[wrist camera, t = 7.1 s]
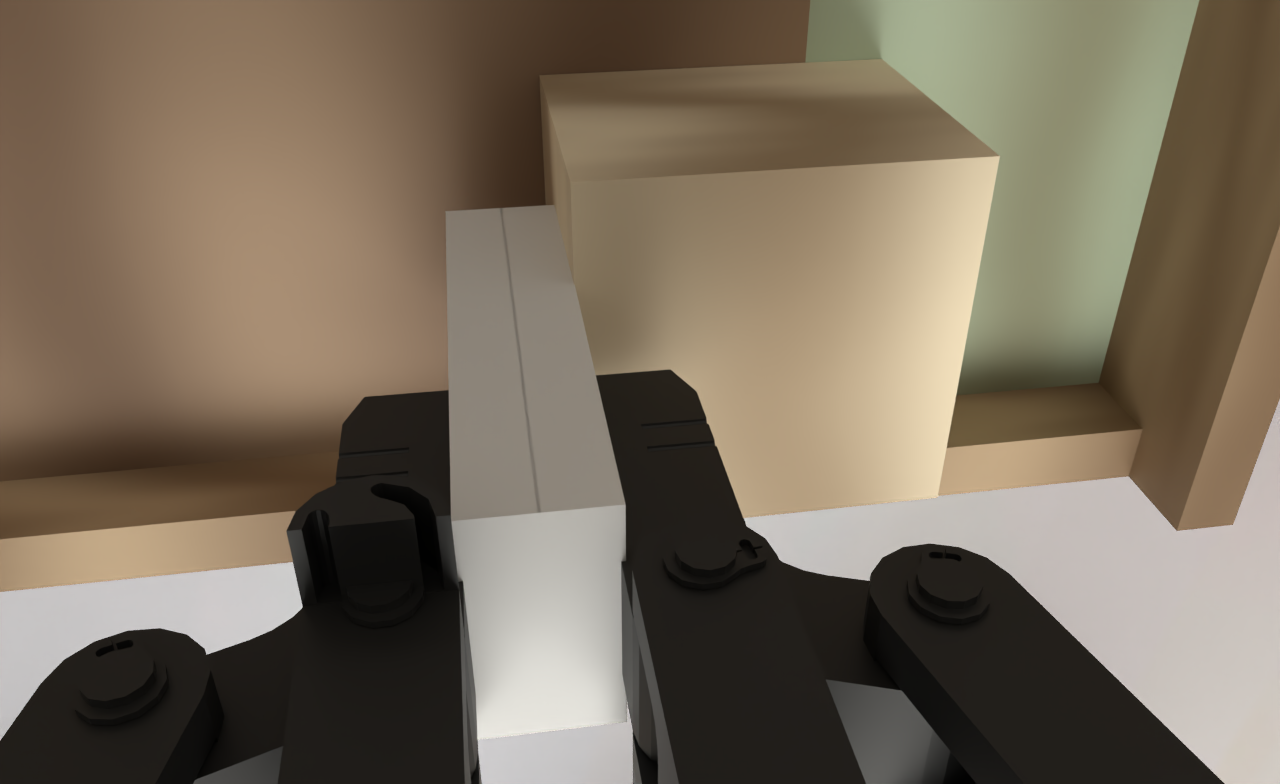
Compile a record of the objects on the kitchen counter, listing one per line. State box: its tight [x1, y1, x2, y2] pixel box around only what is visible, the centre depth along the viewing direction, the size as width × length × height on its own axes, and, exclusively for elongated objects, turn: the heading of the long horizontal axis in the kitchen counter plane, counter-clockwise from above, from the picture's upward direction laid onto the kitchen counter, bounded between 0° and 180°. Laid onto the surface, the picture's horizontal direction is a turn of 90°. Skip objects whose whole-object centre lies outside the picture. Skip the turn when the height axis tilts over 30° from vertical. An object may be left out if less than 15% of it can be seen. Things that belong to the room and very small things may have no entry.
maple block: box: [539, 59, 1000, 518], centre depth 16 cm, size 5×5×4 cm
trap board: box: [0, 0, 1280, 592], centre depth 14 cm, size 30×16×6 cm, turn 90°
